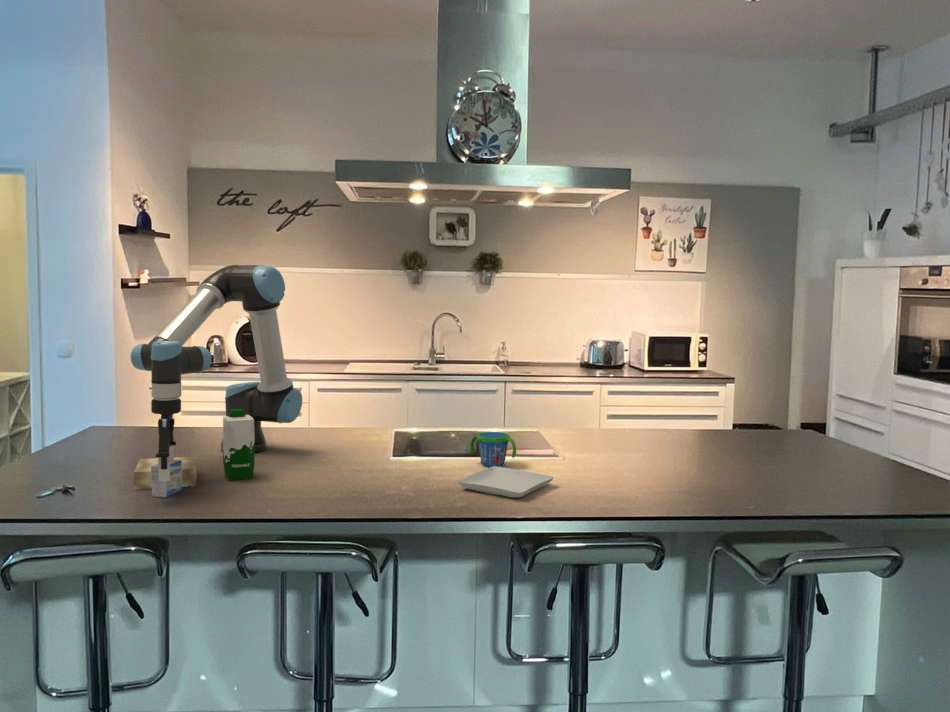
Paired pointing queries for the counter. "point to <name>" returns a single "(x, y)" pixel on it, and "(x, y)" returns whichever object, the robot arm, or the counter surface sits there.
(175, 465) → the medicine box
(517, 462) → the counter surface
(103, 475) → the counter surface
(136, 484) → the beige slab
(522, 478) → the salad plate
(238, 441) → the milk carton
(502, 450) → the snack cup
